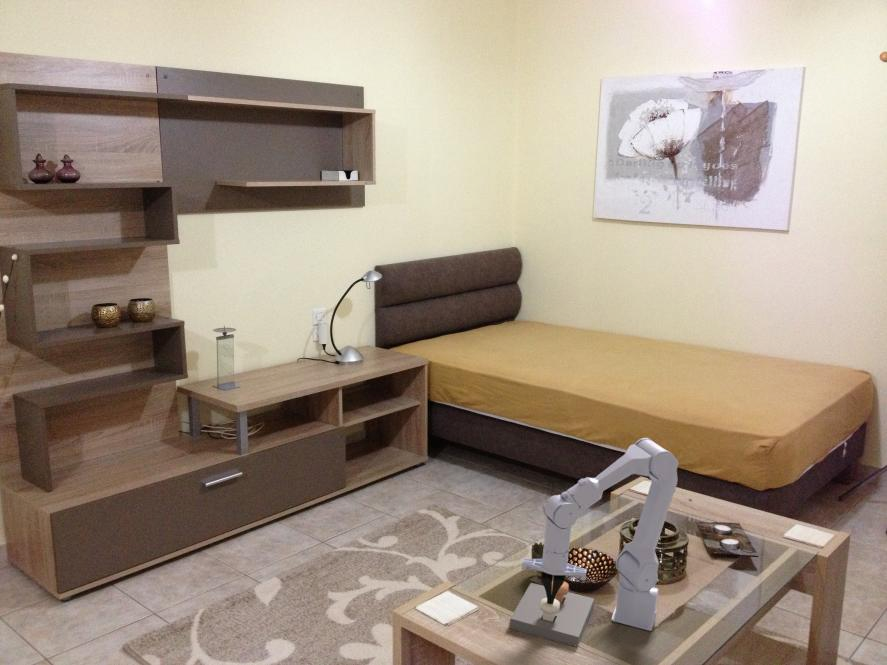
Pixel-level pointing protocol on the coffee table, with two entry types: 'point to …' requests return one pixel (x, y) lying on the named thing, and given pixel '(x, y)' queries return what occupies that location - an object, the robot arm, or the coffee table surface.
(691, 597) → the coffee table surface
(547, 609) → the white rounded piece
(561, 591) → the terracotta button
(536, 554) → the cup
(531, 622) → the button panel
